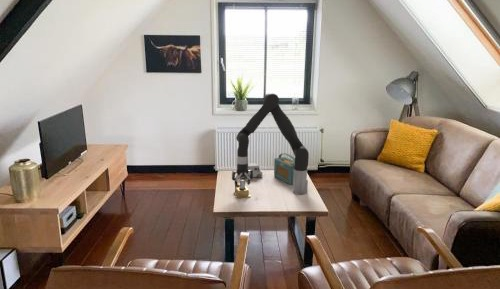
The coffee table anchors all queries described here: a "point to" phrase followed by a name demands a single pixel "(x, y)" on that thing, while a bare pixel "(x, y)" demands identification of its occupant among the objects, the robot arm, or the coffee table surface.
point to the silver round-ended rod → (242, 184)
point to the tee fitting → (241, 192)
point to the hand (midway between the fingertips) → (242, 185)
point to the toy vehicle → (254, 170)
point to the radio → (284, 168)
